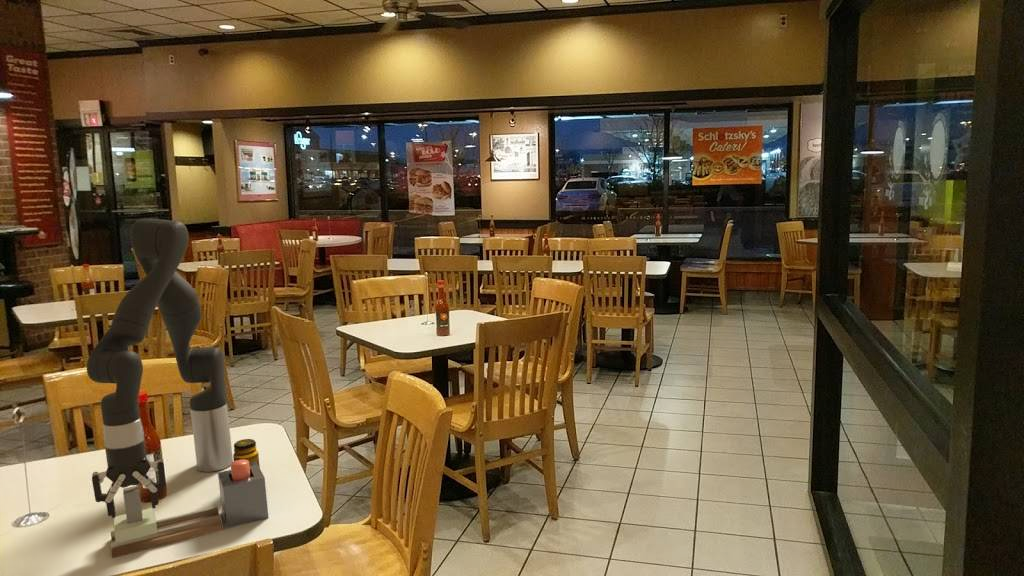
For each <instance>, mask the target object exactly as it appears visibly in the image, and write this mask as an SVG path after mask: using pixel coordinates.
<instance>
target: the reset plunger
mask: <svg viewBox="0 0 1024 576" xmlns="http://www.w3.org/2000/svg"><path fill="white" fill-rule="evenodd" d="M230 470H231V474H232V481H237V480H241V479H245V478H250V468H249V461H248V460H237V461H234V460H233V462H232V463H231V465H230Z"/></svg>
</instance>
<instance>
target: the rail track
mask: <svg viewBox="0 0 1024 576" xmlns="http://www.w3.org/2000/svg"><path fill="white" fill-rule="evenodd" d="M156 524H157V532H158V533H155V534H151V535H147V536H143V537H139V538H135V539H131V540H127V541H123V542H119V543H116V541H115V534H114V530H112V531H110V537H111V539H110V549H111V550H110V553H111V558H113V559H114V558H116V557H121V556H125V555H128V554H133V553H136V552H140V551H144V550H148V549H151V548H155V547H159V546H160V547H161V546H163V545H168V544H172V543H175V542H180V541H184V540H188V539H191V538H194V537H199V536H203V535H207V534H210V533H215V532H218V531H223V529H224V528H223V521H222V517H221V514H220V512H219V506H218V505H215V506H212V507H208V508H207V507H206V508H204V509H199V510H195V511H191V512H186V513H183V514H179V515H174V516H170V517H166V518H162V519H156Z"/></svg>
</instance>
